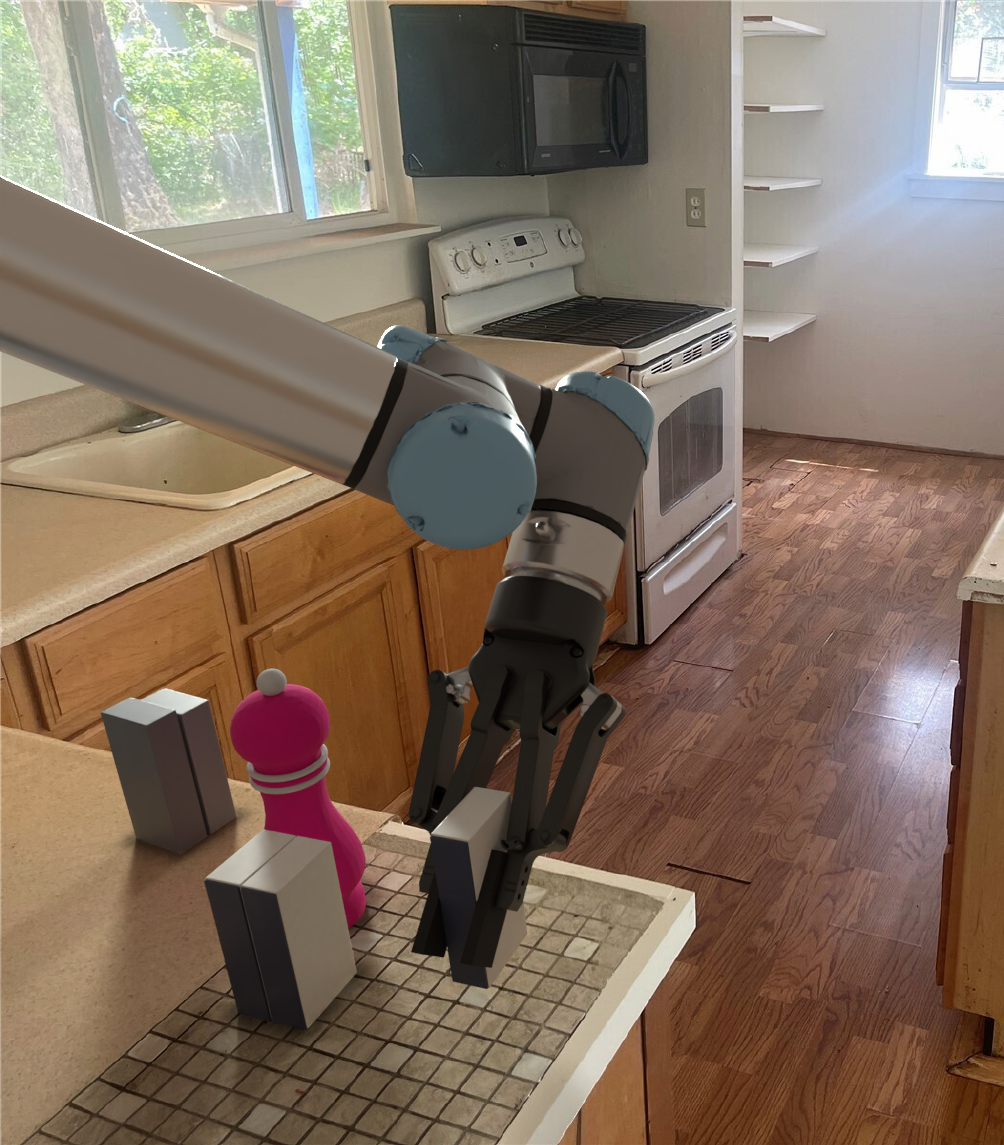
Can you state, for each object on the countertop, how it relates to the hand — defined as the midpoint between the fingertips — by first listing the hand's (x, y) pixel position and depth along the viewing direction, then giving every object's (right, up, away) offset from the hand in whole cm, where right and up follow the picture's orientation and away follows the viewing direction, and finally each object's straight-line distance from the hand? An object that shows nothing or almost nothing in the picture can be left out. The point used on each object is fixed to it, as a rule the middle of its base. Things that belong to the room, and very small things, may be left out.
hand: (451, 959), depth 63 cm
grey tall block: (-12, -5, +6) cm, 14 cm away
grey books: (-28, +2, +23) cm, 36 cm away
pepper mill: (-13, -2, +13) cm, 19 cm away
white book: (+1, -2, +5) cm, 5 cm away
